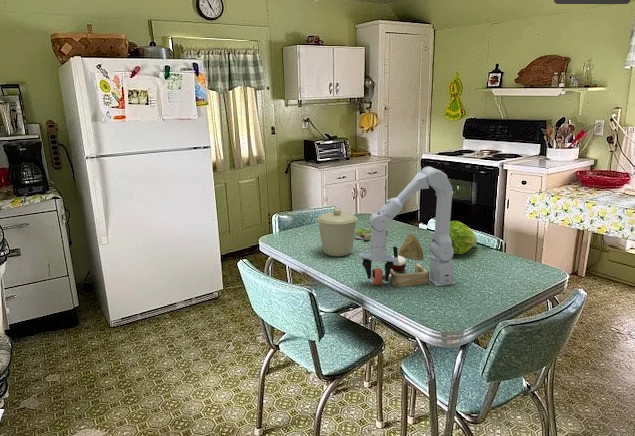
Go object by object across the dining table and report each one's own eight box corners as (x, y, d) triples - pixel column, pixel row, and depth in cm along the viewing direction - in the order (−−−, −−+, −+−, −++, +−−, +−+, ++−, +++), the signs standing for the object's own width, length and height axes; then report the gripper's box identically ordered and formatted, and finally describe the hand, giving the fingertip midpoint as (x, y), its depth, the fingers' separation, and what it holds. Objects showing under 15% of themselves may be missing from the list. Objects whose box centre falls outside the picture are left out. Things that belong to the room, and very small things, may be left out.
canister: (336, 262, 198) (335, 215, 192) (309, 252, 211) (308, 208, 206) (365, 253, 209) (365, 208, 203) (339, 244, 222) (338, 201, 217)
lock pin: (402, 282, 174) (402, 268, 173) (374, 285, 172) (375, 271, 171) (399, 279, 177) (399, 266, 176) (372, 282, 175) (372, 268, 174)
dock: (428, 283, 174) (429, 272, 173) (395, 287, 171) (395, 276, 170) (417, 273, 183) (417, 263, 182) (385, 277, 181) (386, 266, 180)
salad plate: (380, 244, 222) (381, 235, 221) (345, 241, 228) (345, 232, 227) (389, 233, 239) (389, 224, 238) (356, 230, 245) (356, 222, 244)
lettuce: (456, 250, 221) (484, 262, 209) (423, 245, 206) (450, 257, 194) (466, 221, 219) (495, 231, 206) (433, 213, 204) (462, 224, 191)
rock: (430, 254, 199) (420, 244, 208) (421, 241, 195) (411, 231, 204) (411, 269, 199) (401, 259, 208) (401, 257, 195) (392, 247, 204)
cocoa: (398, 266, 192) (399, 239, 189) (410, 270, 188) (411, 242, 185) (383, 272, 186) (384, 244, 183) (395, 276, 182) (396, 247, 178)
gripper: (400, 243, 171) (399, 277, 174) (362, 240, 176) (362, 273, 180) (395, 249, 164) (395, 284, 168) (357, 245, 170) (357, 279, 173)
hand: (378, 279), depth 173 cm, fingers open, 6 cm apart
